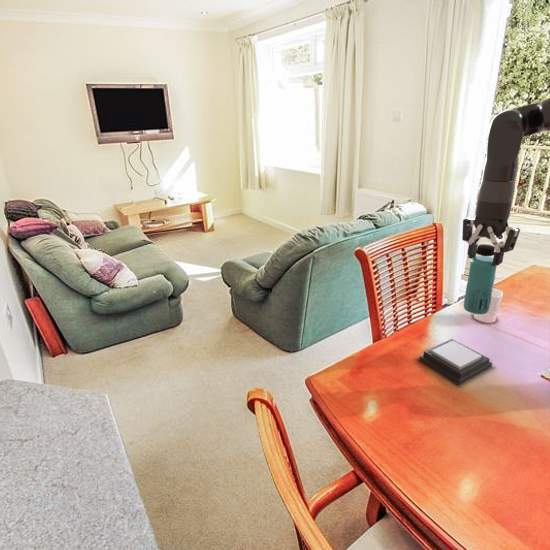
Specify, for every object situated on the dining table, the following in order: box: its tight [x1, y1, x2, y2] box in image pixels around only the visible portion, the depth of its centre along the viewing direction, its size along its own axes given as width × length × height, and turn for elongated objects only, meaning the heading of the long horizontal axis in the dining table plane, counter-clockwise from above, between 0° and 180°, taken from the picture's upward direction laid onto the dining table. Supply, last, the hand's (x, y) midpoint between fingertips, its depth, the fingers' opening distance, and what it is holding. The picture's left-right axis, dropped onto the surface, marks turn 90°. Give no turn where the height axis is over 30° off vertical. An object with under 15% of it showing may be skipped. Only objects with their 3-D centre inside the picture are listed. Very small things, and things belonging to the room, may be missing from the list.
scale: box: [418, 338, 493, 386], centre depth 106 cm, size 14×13×3 cm
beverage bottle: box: [463, 243, 497, 315], centre depth 101 cm, size 6×7×20 cm
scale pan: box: [431, 340, 483, 370], centre depth 106 cm, size 9×9×2 cm
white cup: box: [473, 287, 504, 324], centre depth 127 cm, size 8×8×10 cm
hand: (483, 261), depth 99 cm, fingers closed on beverage bottle, 6 cm apart
